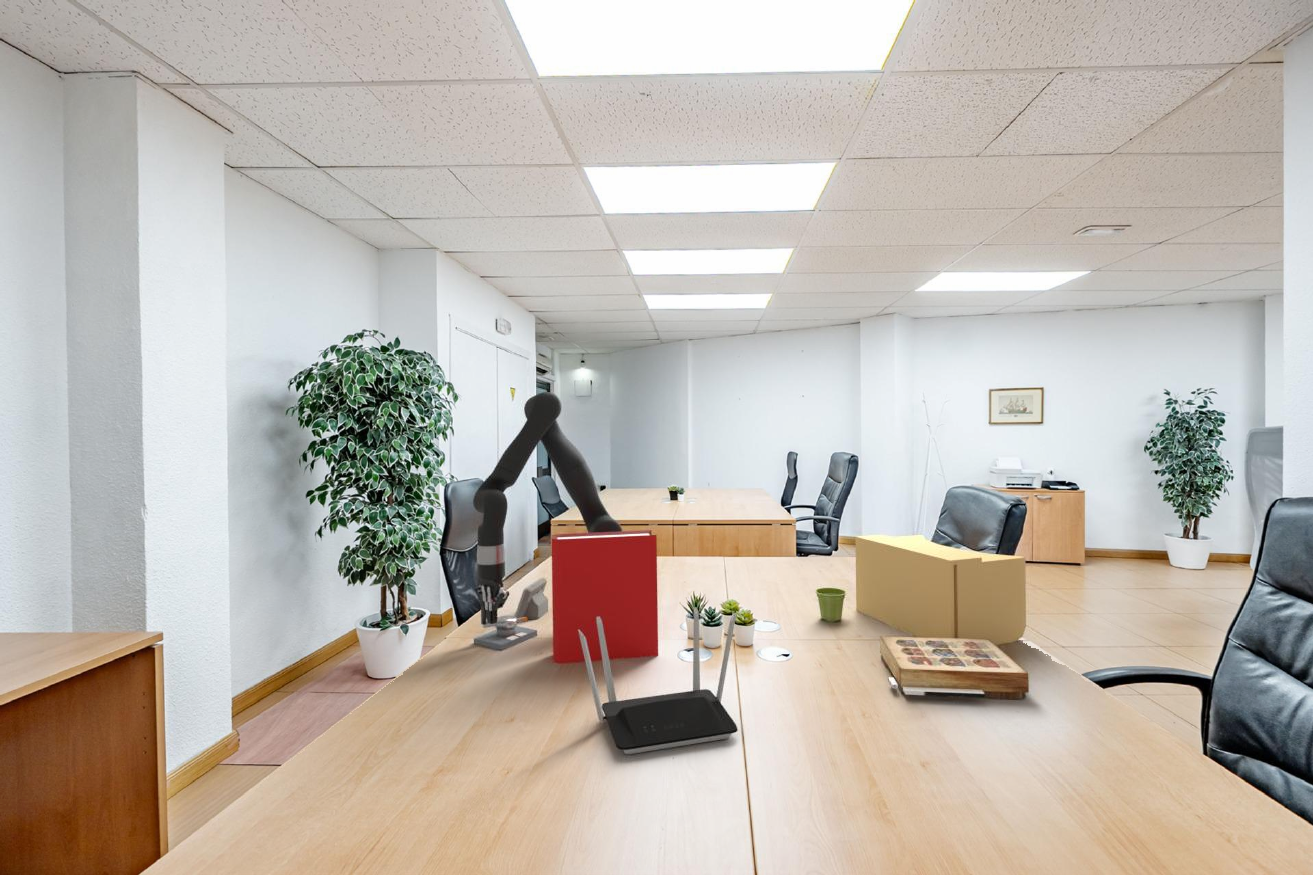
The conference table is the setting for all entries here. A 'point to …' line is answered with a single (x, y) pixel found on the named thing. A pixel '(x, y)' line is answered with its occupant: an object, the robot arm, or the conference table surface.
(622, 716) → the wireless router
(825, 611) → the plant pot
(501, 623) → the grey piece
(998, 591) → the cardboard box
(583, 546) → the book
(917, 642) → the flat wooden box
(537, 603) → the digital clock
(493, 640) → the stand
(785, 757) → the conference table surface
